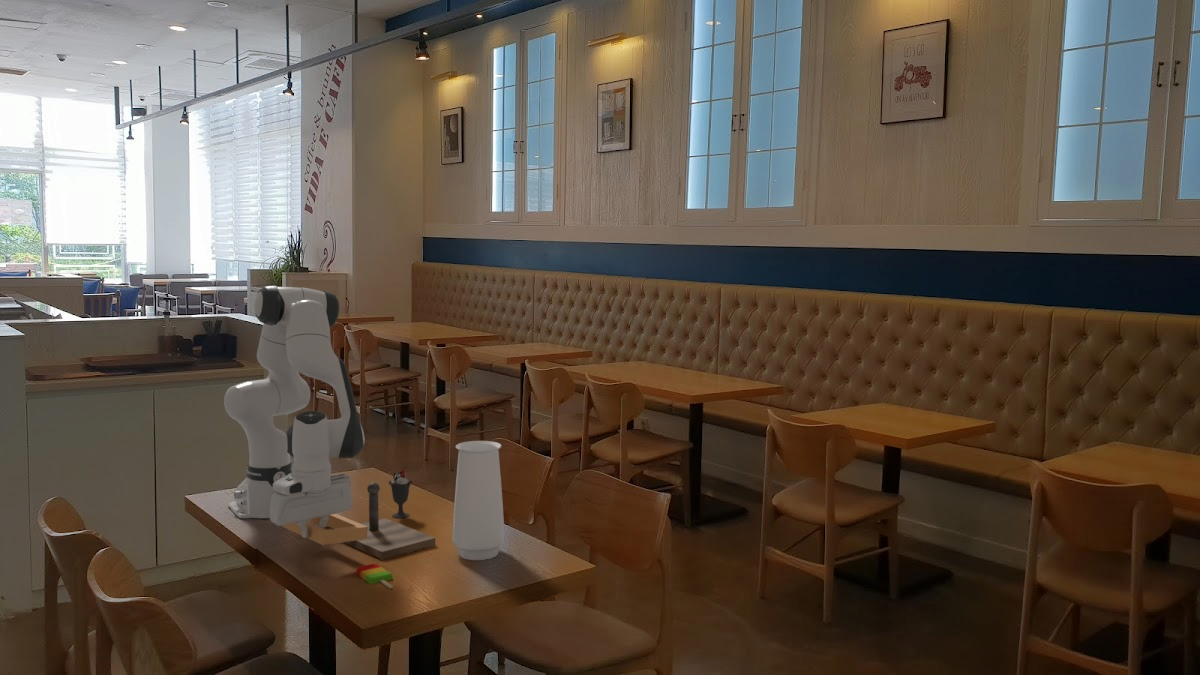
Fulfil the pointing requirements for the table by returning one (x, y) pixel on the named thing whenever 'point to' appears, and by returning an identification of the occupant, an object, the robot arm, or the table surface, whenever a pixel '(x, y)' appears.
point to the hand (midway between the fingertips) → (313, 535)
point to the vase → (478, 501)
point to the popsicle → (375, 574)
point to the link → (332, 530)
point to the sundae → (400, 491)
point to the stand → (388, 533)
